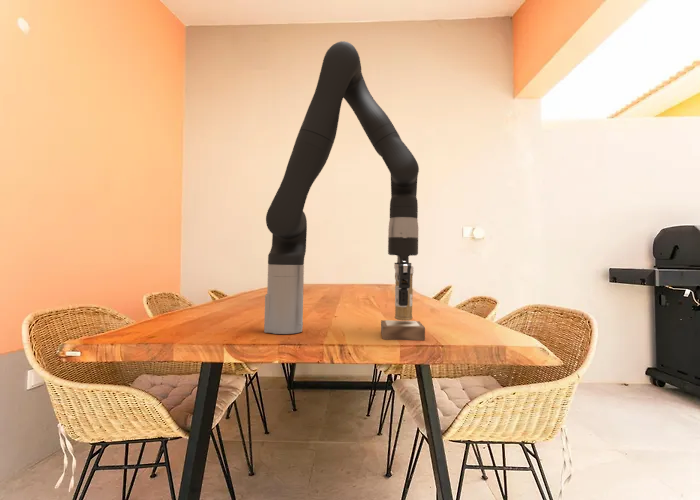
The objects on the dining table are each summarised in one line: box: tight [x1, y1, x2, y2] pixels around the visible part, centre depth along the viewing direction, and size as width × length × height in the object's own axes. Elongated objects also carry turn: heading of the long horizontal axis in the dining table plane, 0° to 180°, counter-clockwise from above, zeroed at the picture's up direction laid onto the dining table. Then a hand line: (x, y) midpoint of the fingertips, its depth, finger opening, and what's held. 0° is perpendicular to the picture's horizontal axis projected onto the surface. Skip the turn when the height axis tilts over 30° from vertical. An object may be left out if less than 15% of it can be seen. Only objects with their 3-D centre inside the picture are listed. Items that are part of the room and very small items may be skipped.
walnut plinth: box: [380, 319, 426, 341], centre depth 103 cm, size 10×10×3 cm
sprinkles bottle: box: [394, 265, 414, 321], centre depth 103 cm, size 5×5×13 cm
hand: (402, 304), depth 103 cm, fingers closed on sprinkles bottle, 4 cm apart
